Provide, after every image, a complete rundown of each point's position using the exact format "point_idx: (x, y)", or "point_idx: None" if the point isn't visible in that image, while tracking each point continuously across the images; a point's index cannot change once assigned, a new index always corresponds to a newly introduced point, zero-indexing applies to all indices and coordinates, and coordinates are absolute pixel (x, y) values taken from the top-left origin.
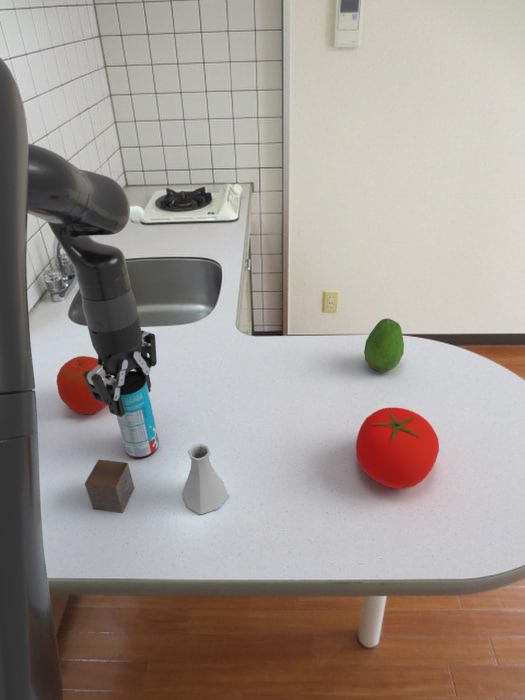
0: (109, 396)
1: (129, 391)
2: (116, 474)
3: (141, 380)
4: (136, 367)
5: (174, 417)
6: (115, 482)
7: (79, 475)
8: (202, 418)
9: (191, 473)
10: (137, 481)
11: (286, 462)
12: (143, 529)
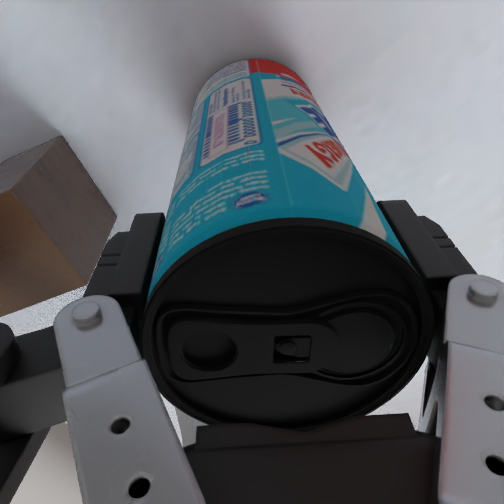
0: (36, 447)
1: (217, 401)
2: (26, 289)
3: (353, 386)
4: (426, 409)
5: (440, 111)
6: (5, 307)
7: (9, 6)
8: (462, 198)
9: (186, 419)
10: (140, 205)
11: (377, 414)
12: (53, 310)
